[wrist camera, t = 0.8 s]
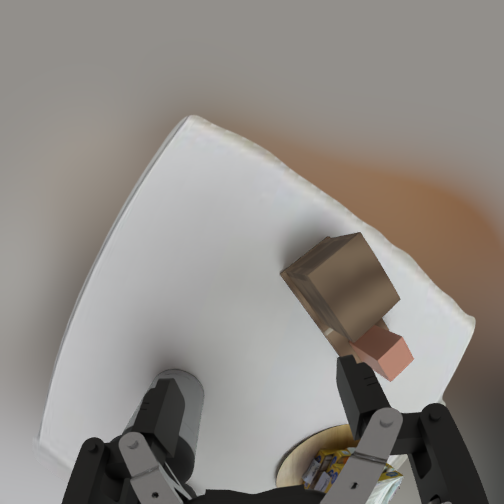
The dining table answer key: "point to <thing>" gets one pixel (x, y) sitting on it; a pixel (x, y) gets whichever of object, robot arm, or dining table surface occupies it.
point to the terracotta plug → (383, 352)
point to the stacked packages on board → (331, 465)
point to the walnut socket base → (342, 289)
